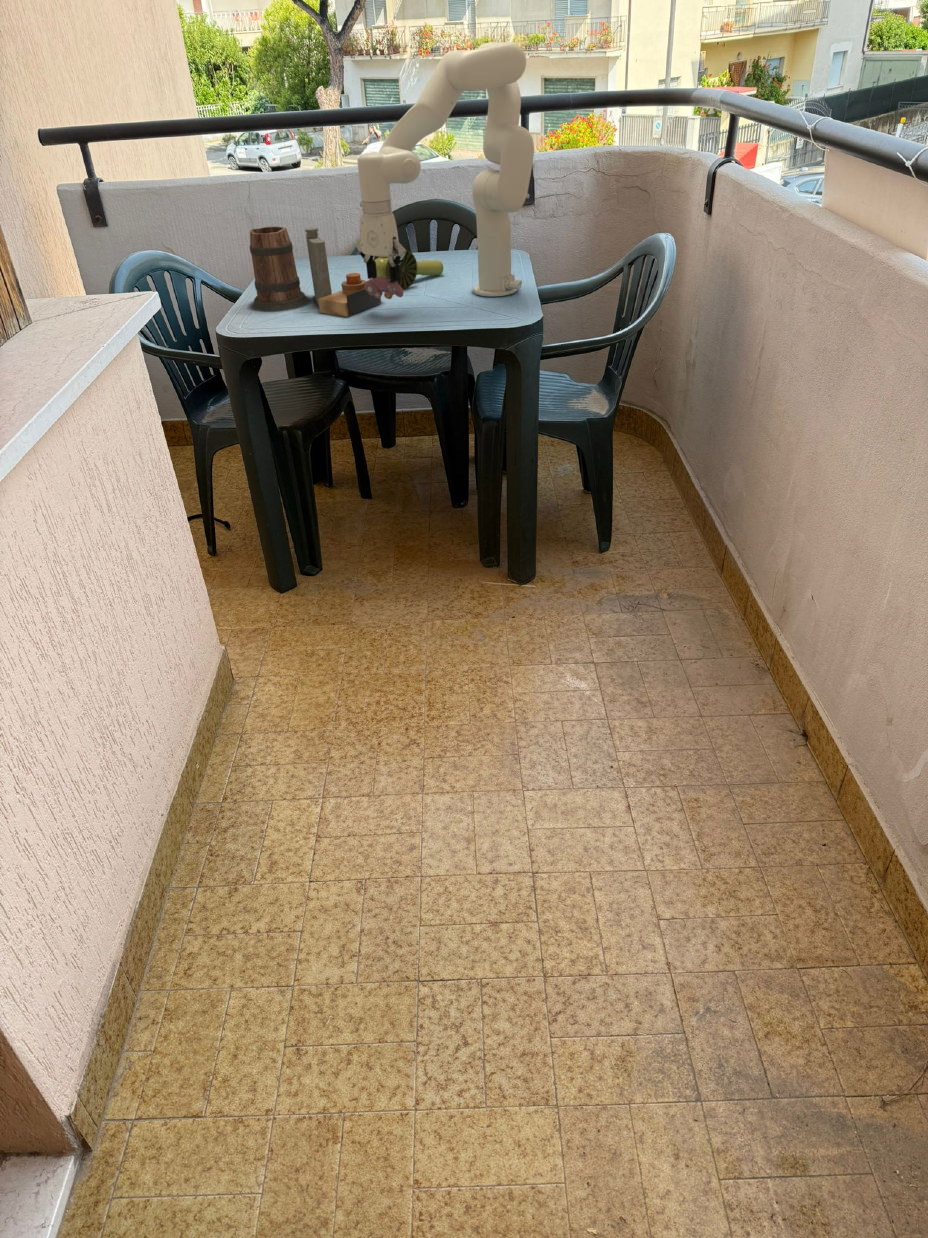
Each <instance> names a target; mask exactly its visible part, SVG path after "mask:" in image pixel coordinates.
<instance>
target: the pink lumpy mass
mask: <svg viewBox="0 0 928 1238" xmlns="http://www.w3.org/2000/svg"><path fill="white" fill-rule="evenodd" d="M365 290H366V291H367V292H368V293H369V295H371V296H374V297H376V298H378V299H379V298H381V299H382V296H384V298H386V299H387V300H392V298H393V296H394V295H395V296H396V297H398V298H403V296H404V290H403V289H402V288H401V287H400V286H399V284H398V283H397V282H391V281H390V279H388V278H385V277H376V278H375V279H373V278H370V279H368V280H367V281H366V284H365ZM383 291H384V294H383Z"/></svg>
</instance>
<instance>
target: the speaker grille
mask: <svg viewBox="0 0 928 1238" xmlns="http://www.w3.org/2000/svg"><path fill="white" fill-rule="evenodd" d="M346 297H347V305H348V313H349V315H350V316H352V315H351V314H353V315H355V314H357V313H356V312H358V313H360V312H362V311H361V310H363V311H365V310H367V309H366V308H368V309H370V308H372V307H371V306H373V307H375V306H377V305H376V304H378V305H380V304H379V303H381V304H382V301H381V302H380V298H379V299H378V298H376V297H374V296H371V295H369V293H368V292H367V291H366V290H365V288H364V289H362V290H359V291H356V292H354V293H351V294H348V295H346ZM374 305H375V306H374ZM369 307H370V308H369ZM364 309H365V310H364ZM359 311H360V312H359ZM354 313H355V314H354Z"/></svg>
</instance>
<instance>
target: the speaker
mask: <svg viewBox="0 0 928 1238" xmlns="http://www.w3.org/2000/svg"><path fill="white" fill-rule="evenodd" d="M366 282H367V281H366V280H365V279H361V283H360V284H355V285H349V284H347V280H345V281H342V283H341V290H339V291H337V292H332V294H331V295H328V296H325V297H322V298H320V299H318V301H319V305H318V307H319V313H322V314H328V315H331V316H332V315H333V316H339V317H344V318H347V317H350V316H353V315H355V314H357V313H360V312H363V311H365V310H368V309H370V308H373V307H375V306H378V305H381V304H382V297H381V298H380V302H381V303H379V304H376V305H374V306H371V307H369V308H366V309H364V310H361V311H359V312H356V313H354V314H351V315H349V313H348V305H347V297H346V295H348V294H351V293H354V292H356V291H359V290H362V289H364V288H365V284H366Z"/></svg>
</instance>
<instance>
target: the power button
mask: <svg viewBox="0 0 928 1238" xmlns="http://www.w3.org/2000/svg"><path fill="white" fill-rule="evenodd" d="M345 278H346V281H347V284H349V285H355V284H360V283H361V280H362V277H361V274H360V273H359V272H351V273H347V274H345Z"/></svg>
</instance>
